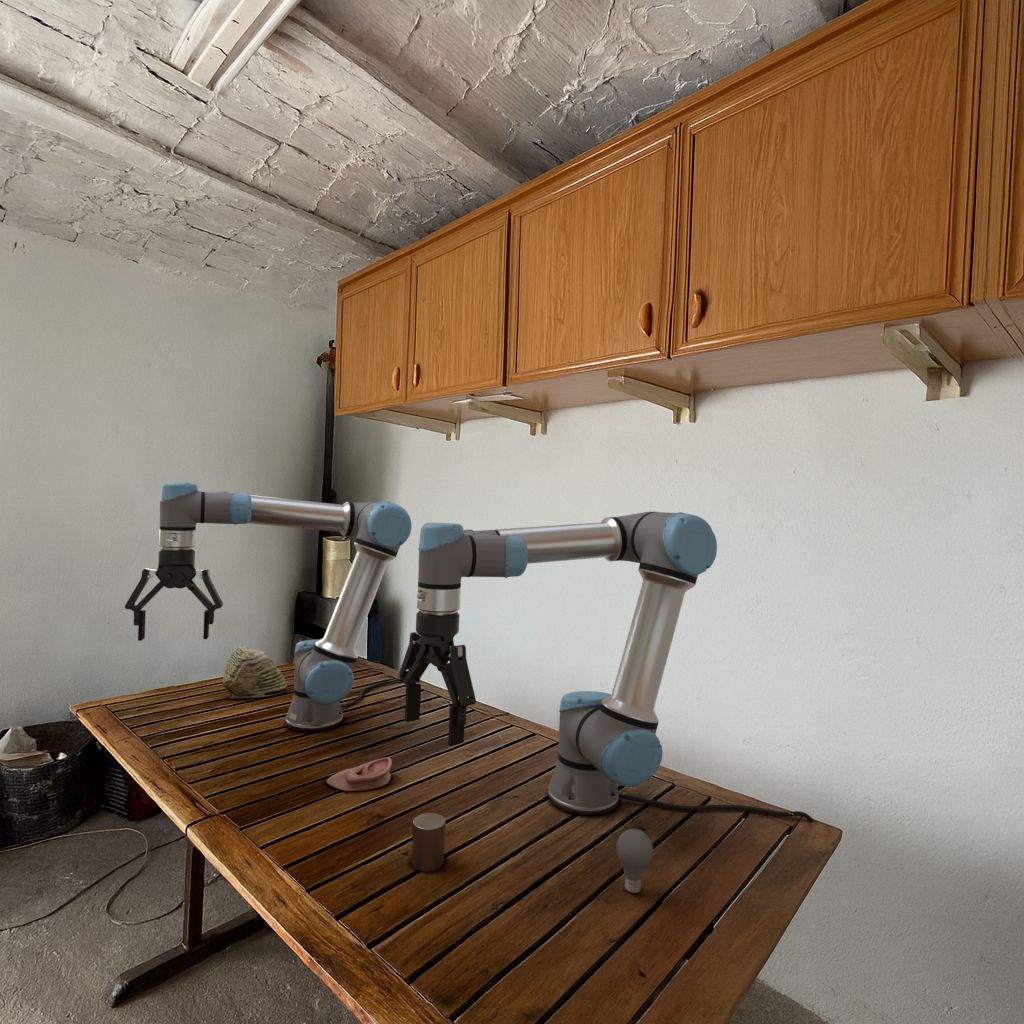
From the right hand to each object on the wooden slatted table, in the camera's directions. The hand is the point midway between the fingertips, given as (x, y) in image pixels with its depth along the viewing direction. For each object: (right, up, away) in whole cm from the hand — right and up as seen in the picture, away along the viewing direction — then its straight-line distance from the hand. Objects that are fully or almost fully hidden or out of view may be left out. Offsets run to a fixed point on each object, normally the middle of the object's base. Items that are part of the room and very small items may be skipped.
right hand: (433, 731), depth 111 cm
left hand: (-65, +9, +37) cm, 76 cm away
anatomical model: (-20, -22, +31) cm, 43 cm away
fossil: (-67, -19, +87) cm, 111 cm away
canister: (-1, -23, 0) cm, 23 cm away
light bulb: (+34, -25, -5) cm, 42 cm away
